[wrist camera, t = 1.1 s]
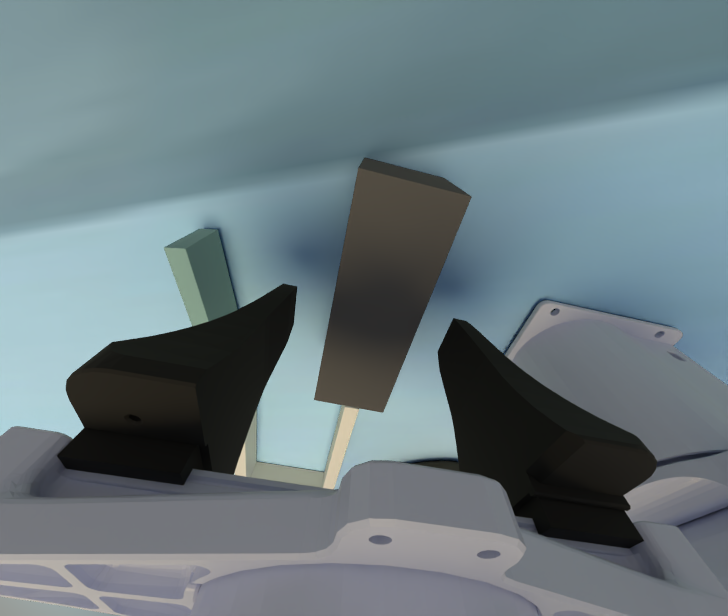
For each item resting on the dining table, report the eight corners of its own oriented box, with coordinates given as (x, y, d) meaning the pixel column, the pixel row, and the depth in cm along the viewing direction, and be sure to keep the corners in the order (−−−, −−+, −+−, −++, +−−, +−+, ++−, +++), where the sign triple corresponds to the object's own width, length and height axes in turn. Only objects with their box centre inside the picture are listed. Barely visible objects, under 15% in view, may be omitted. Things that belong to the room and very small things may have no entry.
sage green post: (197, 228, 15) (161, 247, 13) (219, 229, 15) (187, 248, 13) (235, 359, 20) (214, 391, 18) (251, 360, 20) (233, 392, 18)
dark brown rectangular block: (442, 177, 14) (471, 196, 10) (382, 353, 20) (382, 412, 16) (364, 157, 13) (358, 167, 9) (327, 343, 20) (314, 399, 16)
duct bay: (360, 382, 21) (358, 409, 19) (332, 478, 29) (328, 505, 27) (243, 360, 21) (228, 386, 19) (246, 465, 29) (236, 491, 27)
